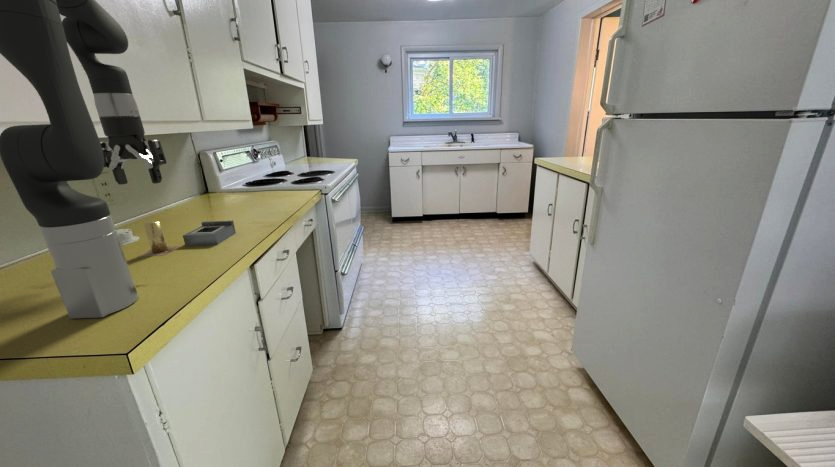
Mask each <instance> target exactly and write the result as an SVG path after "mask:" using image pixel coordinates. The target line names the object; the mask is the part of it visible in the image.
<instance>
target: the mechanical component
mask: <svg viewBox="0 0 835 467" xmlns="http://www.w3.org/2000/svg"><path fill="white" fill-rule="evenodd" d="M116 232H117V235H118V238H119V241H120V244H121V247H122V246H126V245H130V244H132V243H136V242H138V241H139V240H140V237H139V236H137V235H133V231H132V229H131V228H120V229H116Z"/></svg>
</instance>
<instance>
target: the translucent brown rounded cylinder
mask: <svg viewBox="0 0 835 467" xmlns="http://www.w3.org/2000/svg"><path fill="white" fill-rule="evenodd" d="M143 227H144V229H145V233H146V236H147V240H148V243H149V246H150V250H152V253H162V252H165V251H167V250H168V248H167V246H168V245H167V241H166V238H165V235H164V231H163V227H162V224H161V221H160V220H150V221H146V222H143Z"/></svg>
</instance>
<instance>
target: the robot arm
mask: <svg viewBox="0 0 835 467" xmlns="http://www.w3.org/2000/svg"><path fill="white" fill-rule="evenodd" d="M61 16H63V17H64V18H63V19H62V18H61ZM68 46H69V47H70V49H71V50H72V51H73V53H74V55H75V56H76V58H77V60H78V61H79V63H80V65H81V67H82V68H83V70H84V72H85V75H86V76H87V79H88V82H89V85H90V88H91V90H92V94H93V100H94V105H95V109H96V112H97V116H98V118H99V121H100V125H101V127H102V131H103V134H104V136H106V137H107V138H108V140H107V141H106V140H103V141H100V138H99V136H98V133H97V129H96V128H95V125H94V122H93V120H92V117H91V115H90V111H89V109H88V107H87V104H86V101H85V98H84V97H83V96H84V95H83V94H82V91H81V87H80V84H79V81H78V78H77V75H76V72H75V67H74V65H73V61H72V58H71V54H70V50H69V47H68ZM128 48H129V40H128V36H127V35H126V32H125V31H124V28H122V26H121V24H120V23H119V22H118V21H117V20H116V19H115V18H114V17H113V16H112V15H111V14H110V13H109V12H107V10H106V9H105V8H104V7H103V6H101V4H99V2H97V1H96V0H0V55H1V56H2V57H3V58H4V59H6V60H7V62H9V63H10V64H11V65H12V66H13V67H14V68H15V69H16V70H17V71H18V72H20V73H21V75H23V77H25V78H26V80H27V81H28V82H29V83H30V84H31V85H32V87H33V88H34V90H35V91H36V93H37V94H38V96H39V97H40V100H41V101H42V102H41V103H42V104H43V106H44V108H45V111H46V113H47V116H48V119H49V124H48V123H47V124H46V123H45V124H21V125H19V124H18V125H12V126H9V127H6V128H5V129H3V130H2V132H1V133H0V158H1V160H2V163H3V166H4V168H5V170H6V172H7V174H8V176H9V178H10V180H11V181H12V183H13V186H14V188H15V190H16V192H17V194H18V195H19V198H20V200H21V203H22V204H23V206H24V208H25V209H26V210H27V211H28V212H29V214H30V215H31V216H32V217H34V219H35V220H36V223H37V224H38V227H39V230H40V232H41V234H42V236H43V239H44V242H45V244H46V246H47V249H48V251H49V255H50V256H51V259H52V261H53V263H54V266H55V268H54V269H51V271H50V274H51V276H52V278H53V280H54V283H55V286H56V287H57V290H58V292H59V293H58V294H59V296H60V298H61V299H62V302H63V305H64V306H65V309H66V311H67V314H68V316H69V319H92V318H93V319H96V318H97V319H99V318H100V319H101V318H104V317H107V316H109V315H110V314H112V313H115V312H118V311H121V310H123V309H125V308H127V307H129V306H131V305H132V304H134V303H135V302H137V300H138V299H139V294H138V291H137V288H136V286H135V282H134V280H133V277H132V273H131V271H130V268H129V264H128V261H127V258H126V257H125V253H124V250H123V248H122V246H121V244H120V241H119V238H118V235H117V232H116V230H117V229H116V227H115V223H114V221H113V218H112V215H111V211H110V208H109V206H108V204H107V202H106V201H105V200H104V199H103V198H99V197H95V196H92V195H87V194H84V193H81V192H79V191H78V190H75V189H74V188H72V187H71V185H70V184H69V183H68V182H73V181H74V182H75V181H86V180H87V181H88V180H94V179H97V178H99V176H101V175H102V174H103V171H104V168H108V169H110V170H111V171H112V174H113V178H114V181H115V182H116V183H117V184H118V185H119V186H121V185H126V184H128V178H127V176H126V172H125V169H124V168H123V166H124V164H125V162H127V161H128V160H139V161H140V162H142V163H144V164H145V165H146V166H147V167H148V173H149V176H150V179H151V182H152V184H153V185H154V184H159V183H162V181H163V176H162V173H161V169H160V167H161V166H163V165H166V164H167V159H166V156H165V153H164V150H163V147H162V145H161V141H160V140H159V139H148V140H147V139H146V137H145V134H146V132H145V129H144V124H143V121H142V118H141V114H140V111H139V107H138V103H137V102H136V100H135V98H134V95H133V91H132V88H131V87H132V86H131V84H130V80H129V78H128V77H129V76H128V74H127V72H126V70H125V69H124V68H122V67H120V66H117V65H112V64H106V63H102V62H101V61H100V60H99V59H98V57H97V56H96V54H98V55H99V54H101V55H118V54H119V55H121V54H125V52H127V51H128ZM148 149H149V150H148ZM112 151H113V152H112Z"/></svg>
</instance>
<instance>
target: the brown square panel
mask: <svg viewBox="0 0 835 467" xmlns="http://www.w3.org/2000/svg"><path fill="white" fill-rule="evenodd" d="M181 247H182V245H172V246H171V245H169V246H168V245H167V248H168V250H167V251H165V252H162V253H152V250H151V249H150V250H148V251H146V252H143V253H142V254H139V255H137V257H139V258H141V257H143V258H144V257H164V256H166V255H168V254H170V253H172V252H174V251H175V250H179V248H181Z"/></svg>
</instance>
